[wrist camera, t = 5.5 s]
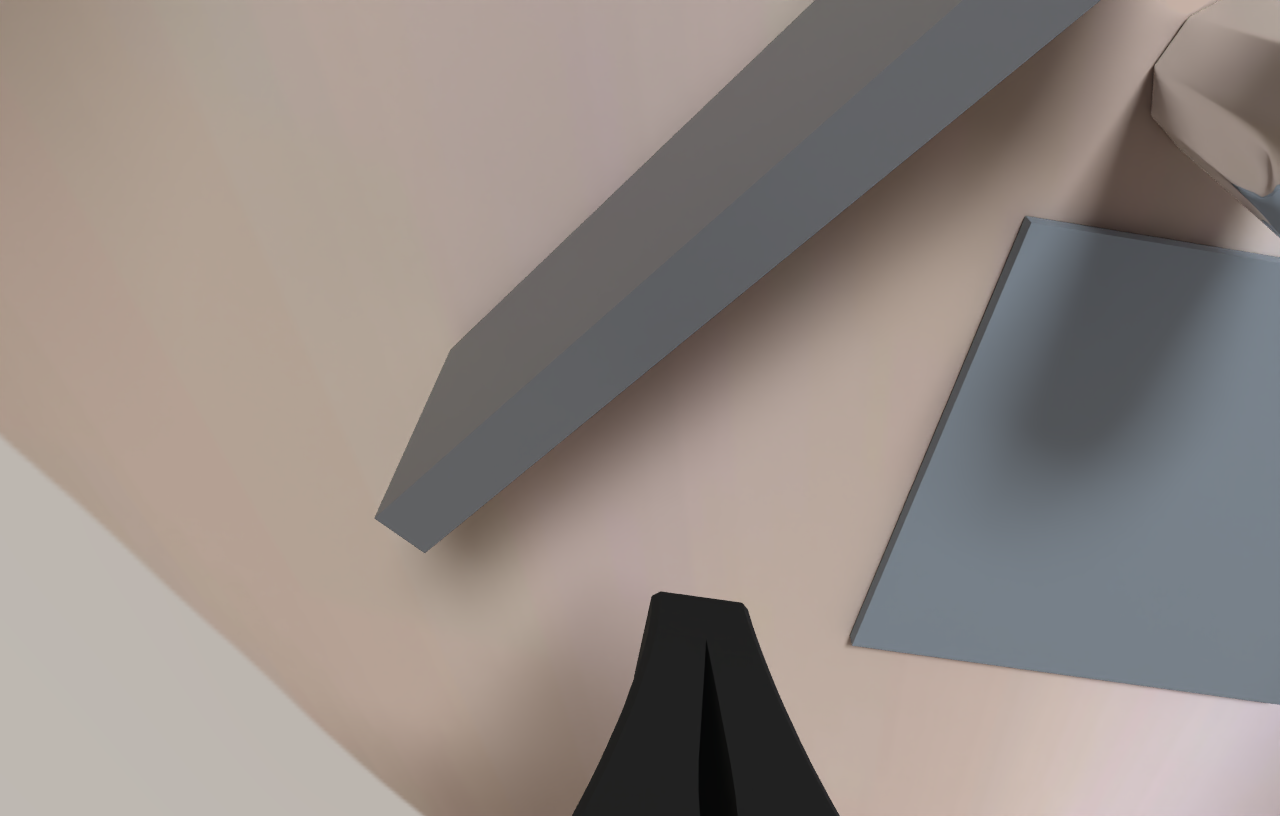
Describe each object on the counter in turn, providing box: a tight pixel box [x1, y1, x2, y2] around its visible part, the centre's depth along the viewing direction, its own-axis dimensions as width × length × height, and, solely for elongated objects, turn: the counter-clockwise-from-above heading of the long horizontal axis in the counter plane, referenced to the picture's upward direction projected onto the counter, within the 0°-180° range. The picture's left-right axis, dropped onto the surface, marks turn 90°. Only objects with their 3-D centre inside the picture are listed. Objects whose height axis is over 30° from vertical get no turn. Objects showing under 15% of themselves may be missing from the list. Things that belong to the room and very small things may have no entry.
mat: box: [850, 216, 1280, 705], centre depth 24 cm, size 14×14×1 cm
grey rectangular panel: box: [375, 0, 1100, 553], centre depth 15 cm, size 2×20×7 cm, turn 134°
